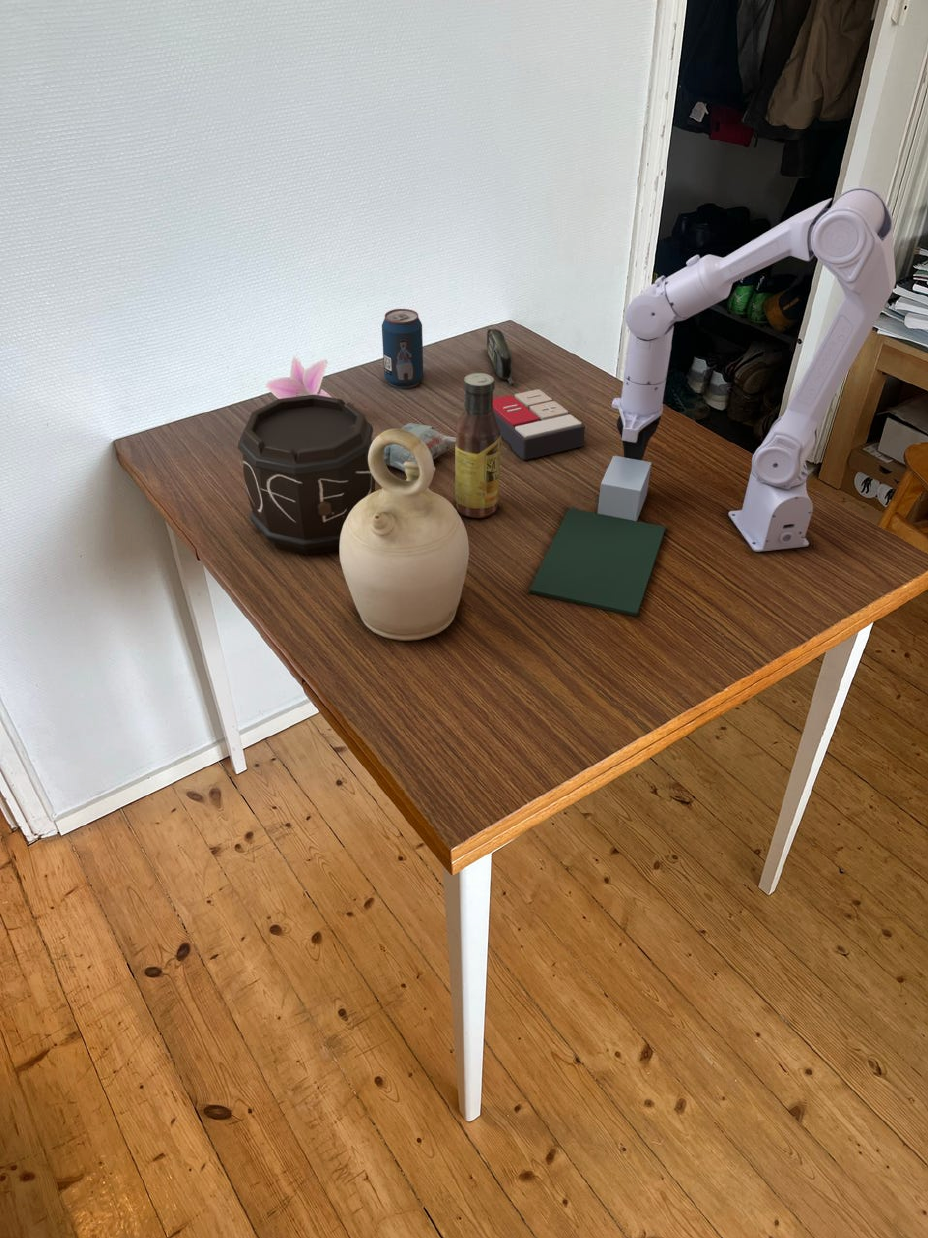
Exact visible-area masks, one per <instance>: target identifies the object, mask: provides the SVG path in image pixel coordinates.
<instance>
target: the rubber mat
mask: <svg viewBox="0 0 928 1238" xmlns="http://www.w3.org/2000/svg"><path fill="white" fill-rule="evenodd" d="M597 513H598V512H597ZM597 513H596V512H592V511H586V510H581V509H577V508H572V507H568V509H567V511H566V512H565V515H564V517H563V518H562V521H561V524H560V526H559V527H558V529H557V532H556V534H555V536H554V538H553V540H552V542H551V544H550V546H549V548H548V550H547V552H546V554H545V556H544V559H543V560H542V562H541V564H540V566H539V569H538V570H537V573H536V575H535V576H534V579H533V581H532V583H531V585H530V587H529V590H528V593H529V594H533V595H537V596H542V597H546V598H551V599H555V600H560V601H564V602H569V603H572V604H573V603H574V604H576V605H577V604H578V605H582V606H586V607H591V608H596V609H600V610H604V611H609V612H614V613H617V614H623V615H627V616H631V617H638V615H639V611H640V608H641V606H642V602H643V600H644V596H645V593H646V590H647V587H648V584H649V581H650V578H651V575H652V572H653V570H654V566H655V563H656V560H657V557H658V554H659V550H660V548H661V545H662V542H663V538H664V536H665V532H666V529H667V527H666V526H664V525H658V524H653V523H648V522H642V521H638V520H637V521H633V520H628V519H623V518H618V517H613V516H607V515H602V514H597Z"/></svg>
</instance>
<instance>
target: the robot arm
mask: <svg viewBox="0 0 928 1238" xmlns="http://www.w3.org/2000/svg"><path fill="white" fill-rule="evenodd" d="M832 200H833V197H831V198H828V199H826V200H822V201H820V202H818V203H816V204H814V205H812V206H810V207H808V208H806V209H804V210H802V211H800V212H798V213H796V214H794V215H793V216H791V217H789V218H788V219H786V220H784V221H783V222H780V223H779V224H778V225H775V226H774V227H772V228H771V229H769V230H768V231H766V232H764V233H762V234H761V235H759V236H758V237H755V238H754V239H752V240H751V241H750V242H748V243H746V244H744V245H742V246H741V247H739V248H738V249H736V250H734V251H733V252H731V253H729V254H727V255H726V256H724V257H721V256H718V255H714V254H706V255H704V256H702V257H700V255H699V254H696V255H694V256H693V257H690V258H689V259H688V260H687V261H686V263H685V264H686V266H685V267H683V268H681V269H680V270H677V271H676V272H674V273H672V274H671V275H668V276H667V277H666V276H665V275H661V276H660V277H658V278H657V279H656V280H655V281H654V283H652V284H650V285H648V286H647V287H646V288H645V289H644V290H642V291H641V292H640V293H639V294H638V295H637V296H635V297H634V298H633V299H632V301H631V302H630V303H629V305H628V306H627V309H626V311H625V322H626V323H625V324H626V326H627V327H628V330H629V336H628V342H627V347H626V348H627V349H626V356H625V365H624V373H623V382H622V389H621V397H614V398H613V399H612V402H611V408H612V409H616V410H618V413H619V416H618V418H617V420H616V429H617V431H618V433H619V435H620V438H621V441H622V448H623V457H625V458H630V459H636V460H641V461H643V458H644V455H645V452H646V451H647V450H646V449H647V446H648V443H649V441H650V440H651V438H653V436H654V435H655V433H656V432H657V430H658V427H659V425H660V423H661V420H662V414H663V411H664V405H663V403H664V396H665V390H666V389H665V388H666V383H667V375H668V369H669V363H670V358H671V351H672V342H673V341H672V340H673V335H674V328H675V326H674V324H675V323H676V322H683V321H685V320H687V319H689V318H691V317H693V316H695V315H697V314H699V313H700V312H703V311H705V310H707V309H709V308H711V307H712V306H714V305H716V304H718V303H720V302H722V301H723V300H725V299H728V297H729V295H730V293H731V290H732V286H733V284H734V283H735V282H737V281H740V280H742V279H744V278H746V277H748V276H750V275H752V274H754V273H756V272H758V271H760V270H762V269H765V268H767V267H769V266H771V265H772V264H775V263H777V262H779V261H781V260H784V259H785V258H787V257H793V258H797V259H799V260H802V261H805V262H810V261H811V260H812V259H813V258H814V256H815V257H816V258H817V260H818V261H819V262H820V263H821V264H822V265H823V266H824V267H825V268H826V269H827V270H828V271H829V272H830V273H831V274H832V275H833V276H834V277H835V278H836V279H837V281H838V284H839V285H840V287H841V289H842V291H843V293H844V297H843V299H842V301H841V303H840V305H839V307H838V308H837V310H836V313H835V315H834V317H833V318H832V320H831V323H830V324H829V326H828V328H827V330H826V333H825V334H824V336H823V338H822V340H821V342H820V343H819V346H818V347H817V350H816V351H815V353H814V354H813V357H812V359H811V361H810V363H809V365H808V367H807V368H806V371H805V373H804V375H803V376H802V378H801V380H800V381H799V384H798V386H797V388H796V390H795V392H794V394H793V396H792V397H791V400H790V401H789V404H788V405H787V407H786V409H785V411H784V413H783V415H782V416H780V417H778V418H777V419H775V421H774V422H773V423H772V425H771V427H770V429H769V431H768V433H767V435H766V436H765V438H764V440H763V441H762V443H761V444H760V445H759V446H758V447H757V448H756V450H755V451H754V453H753V455H752V459H751V470H750V475H749V479H748V483H747V487H746V492H745V496H744V500H743V504H742V509H740V510H731V511H730V510H729V512H728V514H727V515H728V517H729V518H730V520H731V521H732V522H733V524H734V525H735V526H736V528H737V530H738V531H739V532H740V534H741V535H742V536H743V538H744V539H745V541H746V542H747V544H748V545H749V546H750V548H751V549H752V550H753V551H754V552H757V553H760V552H761V553H762V552H770V551H777V550H778V551H779V550H787V549H796V548H797V549H798V548H805V547H808V546H809V544H810V542H809V541H808V539H807V538H806V536H807V533H808V528H809V526H810V522H811V518H812V515H813V513H814V512H813V511H814V505H813V502H812V500H811V498H810V496H809V494H808V490H807V480H808V476H809V471H808V467H807V460H808V458H809V456H810V454H811V453H812V451H813V450H814V449H815V447H816V445H817V443H818V440H819V439H818V438H819V433H818V430H819V425H820V424H821V422H822V420H823V418H824V416H825V414H826V412H827V410H828V409H829V407H830V405H831V403H832V401H833V400H834V398H835V396H836V394H837V392H838V390H839V389H840V387H841V385H842V384H843V381H844V380H845V378H846V376H847V375H848V372H849V371H850V369H851V367H852V366H853V363H854V362H855V360H856V358H857V356H858V354H859V352H860V351H861V349H862V347H863V346H864V344H865V342H866V341H867V338H868V336H869V335H870V333H871V331H872V330H873V327H874V325H875V324H876V322H877V320H878V319H879V316H880V315H881V313H882V311H883V310H884V307H885V306H886V304H887V303H888V300H889V299H890V297H891V296H892V295H891V294H892V293H893V292H894V289H895V286H896V283H897V275H896V259H895V248H894V246H895V245H894V229H895V228H894V227H895V218H894V217H893V215H892V213H891V211H890V209H889V207H888V205H887V204H886V201H885V200H884V198H883V196H882V195H881V194H880V193H879V192H878V191H876V190H875V189H873V188H870V187H867V186H856V187H853V188H849V189H847V190H845V191H844V192H842V193H840V194H839V195H838V196H837V198H836V199H835V200H834V201H833V203H832V204H831V206H830V207H828V206H829V204H830V202H831V201H832Z"/></svg>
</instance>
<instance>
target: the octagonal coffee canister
mask: <svg viewBox="0 0 928 1238" xmlns="http://www.w3.org/2000/svg"><path fill="white" fill-rule="evenodd" d="M331 397H332V396H331ZM331 397H325V396H320V395H306V396H298V397H290V398H282V399H278V398H277V399H276V400H274V401H271V402H270V403H267V404H266V405H263V406H262V407H260V408H257V409H256V410H253V411H252V412H251V413H250V416H249V417H248V418H249V419H248V421H246V424H245V426H244V428H243V430H242V433H241V434H240V438H239V440H238V442H237V443H238V444H237V449H238V450H239V451H240V452H241V454H242V468H243V469H242V471H243V477H244V483H245V489H246V495H247V498H248V501H249V505H250V507H251V512H250V515H249V519H250V521H251V523H252V524H253V525H254V526H255V527H256V528H257V530H258V531H259V532H260V533H261V534H262V535H263V536H264V537H265V538H266V539H267V541H268V542H270V543H271V544H272V546H274V548H275V549H279V550H284V551H289V552H291V553H297V554H300V555H301V554H302V555H306V556H309V555H310V556H311V555H317V554H323V553H329V552H336V551H340V536H341V532H342V528H343V525H344V523H345V521H346V519H347V516H348V514H349V513H350V511H351V510H352V509H353V507H354V506H355V505H356V504H357V503H358V502H359V501H361V500H362V499H363V498H365V497H366V496H368V495H370V494H371V493H373V492H375V491H376V480H375V479H374V477H373V475H372V473H371V471H370V468H369V464H368V453H369V449H370V446H371V444H372V442H373V440H372V438H373V435H374V434H373V433H374V427H373V425H372V424H371V423H370V422H369V421H368V420H367V419H366V415H365V414H364V413H363V412H362V411H360V410H359V409H358V408H357V407H355V405H353V404H352V403H351V402H347V403H346V402H345V401H344V400H343V399H342V398H336V397H332V398H331Z"/></svg>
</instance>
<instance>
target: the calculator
mask: <svg viewBox="0 0 928 1238" xmlns="http://www.w3.org/2000/svg"><path fill="white" fill-rule="evenodd" d="M493 411H494V414H495V417H496V420H497V423H498V426H499V429H500V432H501V439H504V441H506V442H507V443H508V444H509V445H510V447H511V450H512V451H513V452H514V454H516V455H517V456H518V457H519V458H520V459H521V460H523V461H527V460H531V459H536V458H540V457H544V456H548V455H552V454H557V453H560V452H564V451H569V450H574V449H578V448H581V447H584V445H585V433H586V424H584V423H583V422H581V421H580V420H579V419H577V418H576V417H575V416H573V414H571V413H570V412H569V410H567V409H566V408H565V407H563V406H562V405H561V404H560V403H558V402H557V401H555V400H553V398H552V397H551V396H549V395H548V394H547V393H545V392H544V391H542V390H541V389H539V388H538V389H531V390H528V391H527V390H526V391H523V392H519V393H515V394H514V395H511V394H509V395H504V396H499V397H496V398H493Z"/></svg>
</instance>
